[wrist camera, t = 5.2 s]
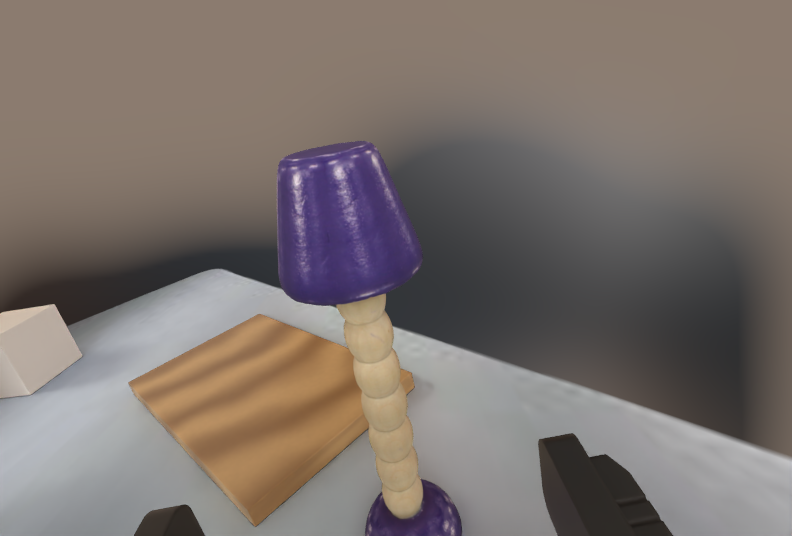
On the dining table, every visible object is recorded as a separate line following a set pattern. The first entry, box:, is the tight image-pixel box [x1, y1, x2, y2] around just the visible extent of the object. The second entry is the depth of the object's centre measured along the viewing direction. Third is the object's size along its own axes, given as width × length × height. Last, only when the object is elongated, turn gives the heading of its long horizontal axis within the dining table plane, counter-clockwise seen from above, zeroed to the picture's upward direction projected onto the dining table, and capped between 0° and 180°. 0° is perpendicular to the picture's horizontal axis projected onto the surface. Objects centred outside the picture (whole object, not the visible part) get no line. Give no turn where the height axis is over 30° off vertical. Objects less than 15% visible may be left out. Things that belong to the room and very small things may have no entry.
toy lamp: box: [277, 141, 462, 536], centre depth 16 cm, size 5×5×17 cm
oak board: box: [128, 314, 415, 527], centre depth 31 cm, size 20×12×1 cm, turn 47°
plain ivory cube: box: [0, 304, 82, 398], centre depth 40 cm, size 6×6×6 cm
